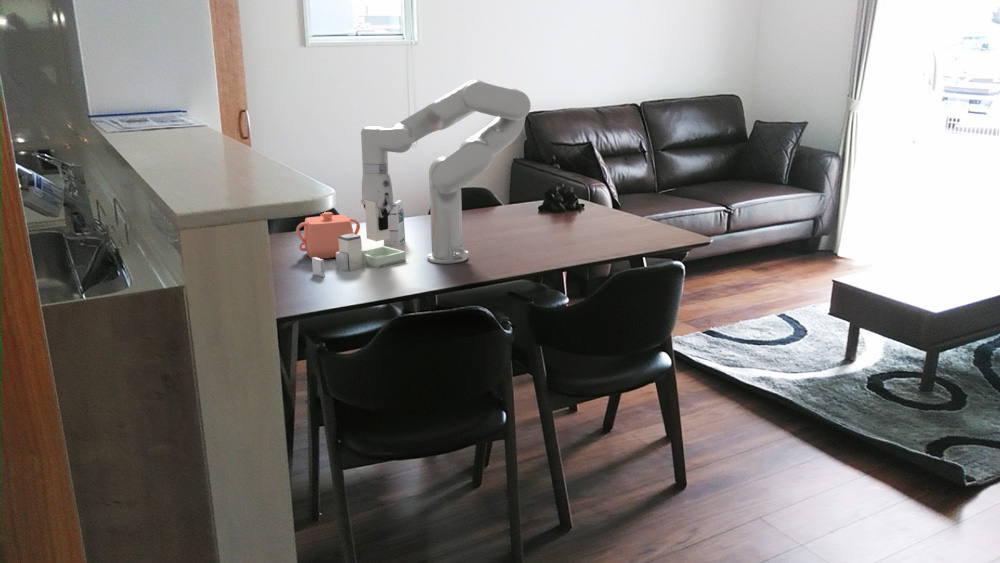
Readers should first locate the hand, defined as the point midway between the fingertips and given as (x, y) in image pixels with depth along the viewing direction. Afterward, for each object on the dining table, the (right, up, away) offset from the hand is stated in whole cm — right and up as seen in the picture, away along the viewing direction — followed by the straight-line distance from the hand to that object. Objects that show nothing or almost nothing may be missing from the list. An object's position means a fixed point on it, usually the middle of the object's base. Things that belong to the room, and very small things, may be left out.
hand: (377, 227), depth 243 cm
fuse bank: (-10, -13, -6) cm, 17 cm away
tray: (0, -10, +3) cm, 11 cm away
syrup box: (+2, -4, +25) cm, 25 cm away
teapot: (-18, -7, +14) cm, 24 cm away
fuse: (0, -3, +1) cm, 3 cm away
